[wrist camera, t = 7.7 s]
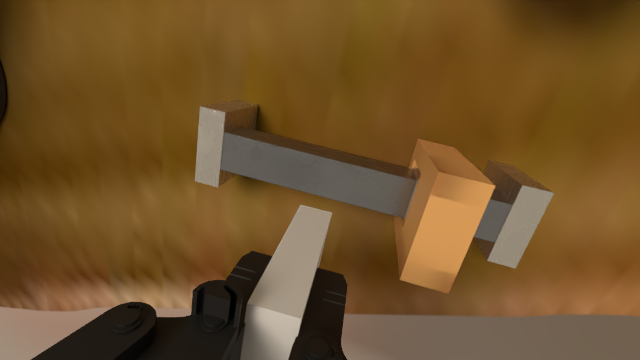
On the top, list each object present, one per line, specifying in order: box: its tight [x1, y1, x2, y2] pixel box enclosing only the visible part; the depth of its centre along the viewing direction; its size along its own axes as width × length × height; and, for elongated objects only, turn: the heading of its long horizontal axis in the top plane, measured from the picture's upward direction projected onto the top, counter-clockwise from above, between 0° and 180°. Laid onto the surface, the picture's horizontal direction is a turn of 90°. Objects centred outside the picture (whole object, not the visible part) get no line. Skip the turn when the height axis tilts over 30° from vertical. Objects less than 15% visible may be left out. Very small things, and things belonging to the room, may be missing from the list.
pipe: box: [195, 100, 554, 268], centre depth 25 cm, size 25×6×7 cm, turn 78°
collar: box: [393, 139, 495, 294], centre depth 22 cm, size 3×7×10 cm, turn 168°
